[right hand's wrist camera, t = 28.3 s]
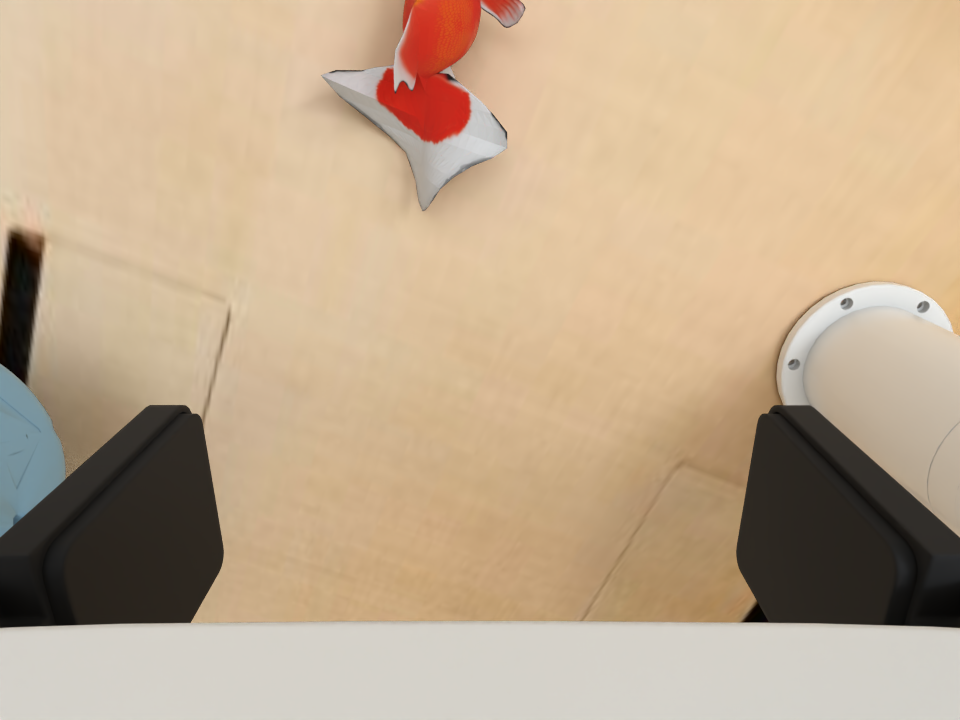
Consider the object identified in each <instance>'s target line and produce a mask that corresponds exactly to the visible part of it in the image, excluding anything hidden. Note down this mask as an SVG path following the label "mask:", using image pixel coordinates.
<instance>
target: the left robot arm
mask: <svg viewBox="0 0 960 720" xmlns="http://www.w3.org/2000/svg"><path fill="white" fill-rule="evenodd" d="M65 476H66V467H65V458H64V453H63V448H62V444H61V441H60V439H59V438H58V436H57V434H56V433H55V431H54V428H53V425H52V420H51V418H50V417H49V415H48V413H47V412H46V410H45V408H44V407H43V406H42V404H41V403H40V402H39V400H38V399H37V398H36V396H35V395H34V394H33V393H32V391H31V390H30V389H29V388H28V387H27V386H26V385H25V384H24V383H23V382H22V381H21V380H20V379H19V378H17V377H16V376H15V375H14V374H13V373H12V372H10V371H9V370H8V369H7V368H5V367H4V366H2V365H1V364H0V537H1V536H2V535H3V534H5V533H6V532H7V531H8V530H9V529H10V528H11V527H12V526H13V525H15V524H16V523H17V522H18V521H19V520H20V519H21V518H22V517H24V516H25V515H26V514H27V513H28V512H29V511H30V510H31V509H33V508H34V507H35V506H36V505H37V504H38V503H39V502H40V501H42V500H43V499H44V498H45V497H46V496H47V495H48V494H49V493H51V492H52V491H53V490H54V489H55V488H56V487H57V486H58V485H60V484H61V483H62V482H63V481H64V480H65Z"/></svg>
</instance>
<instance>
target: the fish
mask: <svg viewBox="0 0 960 720" xmlns="http://www.w3.org/2000/svg"><path fill="white" fill-rule="evenodd" d="M481 8H482V9H483V10H485V11H486V12H488V13H489V14H491V15H492V16H494V17H495V18H496V19H497V20H498V21H499V22H500V23H501V24H502V25H503V26H504V27H506V28H508V27H511V26H513V25H515V24H516V23H518V21H519V20H520V18H521V17H522V15H523V13H524V10H525V6H524V4H523V3H522V2H521V1H520V0H405V5H404V13H403V35H402V37H401V39H400V41H399V44H398V46H397V48H396V50H395V60H394V65H391V66H385V67H375V68H371V69H367V70H362V71H356V70H335V71H332V72H329V73H326V74H323V75H321V76H322V77H323V78H324V79H325V81H326V82H327V83H328V84H329V85H330V86H331V87H332V88H333V89H334V91H335V92H336V93H337V94H338V95H339V96H340V97H341V98H342V99H344V100H345V101H346V102H347V103H349V104H350V105H351V106H352V107H354V108H355V109H356V110H357V111H359V112H360V113H361V114H363V115H364V116H365V117H366V118H368V119H369V120H370V121H371V122H373V123H374V124H375V125H376V126H378V127H379V128H380V129H381V130H382V131H384V132H385V133H386V134H387V135H389V136H390V137H391V138H392V139H393V140H394V141H395V142H396V143H397V144H398V145H399V146H400V147H401V148H402V149H403V150H404V151H405V152H406V154H407V157H408V160H409V163H410V165H411V168H412V171H413V174H414V177H415V180H416V187H417V194H418V200H419V204H420V206H421V208H422V211H425V210H426V209H427V208H428V206H429V205H430V204H431V202H432V201H433V199H434V198H435V196H436V195H437V193H438V192H439V190H440V189H441V188H442V187H443V186H444V185H445V184H447V183H448V182H449V181H450V180H451V179H452V178H453V177H455V176H457V175H458V174H460V173H461V172H463V171H465V170H466V169H468V168H470V167H471V166H473V165H476V164H479V163H481V162H484V161H486V160H489V159H491V158H493V157H495V156H496V155H498V154H499V153H500V152H502V151H503V150H505V149H506V148H507V132H506V130H505V129H504V128H503V127H502V125H501V124H500V123H499V121H498V120H497V119H496V118H495V116H494V115H493V114H492V113H491V112H490V111H489V109H488V108H487V107H486V106H485V105H484V104H483V103H482V102H481V101H480V100H479V99H478V98H477V97H476V96H474V95H473V94H472V93H471V92H470V91H469V90H467V89H466V88H465V87H464V86H463V85H462V84H460V83H459V82H458V81H457V80H456V79H455V76H454V74H453V72H452V69H451V67H450V66H451V65H452V64H454V63H455V62H457V61H458V60H459V59H461V58H462V57H463V56H464V55H465V54H466V52H467V51H468V50H469V48H470V47H471V45H472V43H473V41H474V39H475V37H476V34H477V30H478V27H479V22H480V15H481Z"/></svg>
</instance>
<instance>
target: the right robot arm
mask: <svg viewBox="0 0 960 720" xmlns="http://www.w3.org/2000/svg"><path fill="white" fill-rule="evenodd" d="M842 300H843V302H842ZM841 302H842V303H841ZM790 361H791V362H790ZM789 362H790V363H789ZM776 379H777V386H778V392H779V395H780V398H781V400H782V403H783V405H775V406H773V407H772V408H771V409H770V411H769V413H768V414H762V415H761V416H760V417H759V419H758V423H757V429H756V435H755V441H754V447H753V453H752V459H751V465H750V470H749V476H748V482H747V488H746V494H745V500H744V506H743V512H742V518H741V524H740V530H739V536H738V542H737V550H736V555H737V563H738V566H739V569H740V571H741V573H742V575H743V577H744V579H745V580H746V582H747V584H748V586H749V587H750V589H751V591H752V593H753V594H754V596H755V598H756V600H757V602H758V603H759V605H760V607H761V609H762V610H763V612H764V614H765V616H766V617H767V619H768V621H769V623H719V622H606V621H330V622H240V623H191V621H192V619H193V617H194V616H195V614H196V612H197V610H198V609H199V607H200V605H201V603H202V602H203V600H204V598H205V596H206V594H207V593H208V591H209V589H210V587H211V586H212V584H213V582H214V580H215V579H216V577H217V575H218V573H219V571H220V569H221V566H222V563H223V554H224V550H223V542H222V536H221V530H220V524H219V518H218V512H217V506H216V500H215V494H214V488H213V482H212V476H211V471H210V465H209V459H208V453H207V447H206V441H205V435H204V429H203V423H202V419H201V417H200V416H199V415H198V414H192V413H191V411H190V409H189V408H188V407H187V406H185V405H150V406H148V407H146V408H145V409H144V410H143V411H142V412H140V413H139V414H138V415H137V416H136V417H135V418H134V419H133V420H131V421H130V422H129V423H128V424H127V425H126V426H125V427H124V428H122V429H121V430H120V431H119V432H118V433H117V434H116V435H115V436H113V437H112V438H111V439H110V440H109V441H108V442H107V443H106V444H105V445H103V446H102V447H101V448H100V449H99V450H98V451H97V452H96V453H94V454H93V455H92V456H91V457H90V458H89V459H88V460H87V461H85V462H84V463H83V464H82V465H81V466H80V467H79V468H78V469H76V470H75V471H74V472H73V473H72V474H71V475H70V476H69V477H67V478H66V479H65V480H64V481H63V482H62V483H61V484H60V485H58V486H57V487H56V488H55V489H54V490H53V491H52V492H51V493H49V494H48V495H47V496H46V497H45V498H44V499H43V500H42V501H40V502H39V503H38V504H37V505H36V506H35V507H34V508H33V509H31V510H30V511H29V512H28V513H27V514H26V515H25V516H24V517H22V518H21V519H20V520H19V521H18V522H17V523H16V524H15V525H13V526H12V527H11V528H10V529H9V530H8V531H7V532H6V533H5V534H3V535H2V536H1V537H0V720H960V336H959V335H957V334H955V333H953V330H952V326H951V323H950V321H949V319H948V317H947V316H946V314H945V312H944V310H943V309H942V308H941V307H940V306H939V305H938V304H937V303H936V302H935V301H934V300H933V299H931V298H930V297H928V296H927V295H925V294H924V293H922V292H920V291H918V290H916V289H913V288H911V287H908V286H905V285H901V284H897V283H893V282H877V281H874V282H867V283H860V284H856V285H853V286H850V287H846V288H843V289H841V290H839V291H837V292H835V293H833V294H831V295H829V296H827V297H825V298H824V299H822V300H821V301H819V302H818V303H817V304H815V305H814V306H813V307H811V308H810V309H809V310H808V311H807V312H806V313H805V314H804V315H803V316H802V317H801V318H800V319H799V320H798V321H797V323H796V324H795V326H794V327H793V328H792V330H791V331H790V333H789V334H788V336H787V338H786V340H785V342H784V344H783V346H782V349H781V352H780V356H779V359H778V363H777V377H776Z"/></svg>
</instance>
